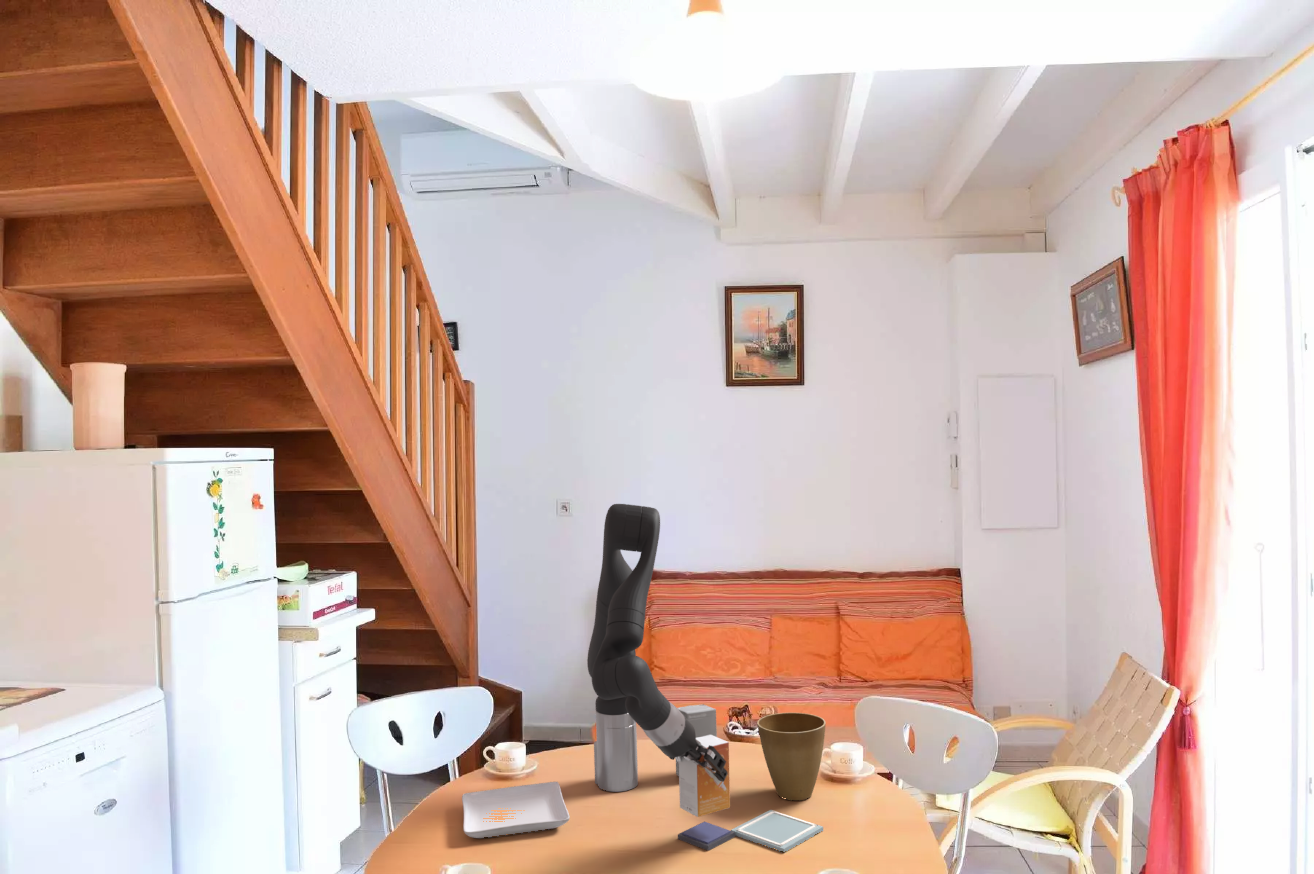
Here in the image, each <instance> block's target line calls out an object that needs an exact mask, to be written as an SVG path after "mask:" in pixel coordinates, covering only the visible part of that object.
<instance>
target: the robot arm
mask: <svg viewBox="0 0 1314 874" xmlns="http://www.w3.org/2000/svg"><path fill="white" fill-rule="evenodd" d="M605 515H606V516H605V519H604V525H603V527H604V529H603V541H602V542H603V543H602V544H603V545H602V561H601V570H600V575H599V576H600V577H599V581H598V587H597V592H596V593H597V594H596V601H595V602H596V603H595V615H594V623H593V624H594V625H593V628H592V632H591V633H592V634H591V636H590V637H591V638H590V642H589V647H588V650H587V651H588V652H587V659H586V661H587V671H588V674H589V677H590V678H591V685H592V688H593V691H594V693H595V694H596V695H597V697H596V698H595V699H596V700H595V723H596V724H595V726H596V728H595V730H596V731H595V732H596V733H595V734H596V740H595V741H594V742H593V754H594V755H593V756H594V757H593V760H594V783H595V785H597V786H599V787H598V788H599V789H601V790H602V789H604V790H603V791H605V790H606V791H605V792H614V793H615V792H626V791H629V790H632V789H635V788H636V787H638V784H639V770H638V769H639V767H638V741H637V740H638V739H637V736H638V735H637V734H638V733H637V725H638V726H639V727H640V728H641V729H642V731H643V732H644V734H645V735H646V736H647V738H649V740H650V741H651V742H652V743H653V744H654V745H655V746H656V747H657V748H658V749H659V750H660V751H661V752H662V753H663V754H664V755H665V756H666V757H668V758H669V759H670V760H675V761H676V760H677V761H678V762H679V761H680V762H681V760H682V757H684V758H685V759H687V760H688V761H692V762H693V763H695V764H696V765H698V766H699V767H701V768H704V767H705V768H707V769H708V770H710V771H711V772H712V773H713V774H714V775H715V776H716V777H717V779H718V780H719V781H722V782H724V780H725V778H726V776H727V774H728V772H727V771H726V769H725V768H724V766H725V764H726V761H725V760H724V758H723V757H722V756H721V755H720V754H719V753H718V751H717V750H716V749H715V748H714V747H713V746H710V745H709V747H708V749H707V748H706V747H704V746H703V745H701V743H700V742H699V741H698V740H696V735H695V729H694V727H693V725H692V724H691V723H690V722H689V721H688V720H687V719H686V718H685V716H684V715H683V714H682V713H681V712H680V711H679V710H678V709H677V708H678V707H677V706H675V705H674V704H673V703H672V702H671V701H670V700H668V699H667V698H666V696H665V695H664V694H663V693H662V692H661V691H660V690H659V688H658V686H657V683H656V681H655V679H654V676H653V673H652V672H651V669H650V667H649V665H648V663H647V662H646V661H645V660H644V659H643V658H642V657H640V656H638V655H637V654H636V649H638V648H640V647H641V646H642V644H643V641H644V632H645V622H646V621H645V620H646V611H647V610H646V608H647V601H648V595H649V591H650V586H651V581H652V577H653V572H654V567H655V563H656V556H657V551H658V545H659V539H660V532H661V515H660V512H659V511H658V509H657V508H656V507H651V506H644V505H643V506H642V505H637V504H636V505H635V504H626V503H614V504H612V505H610V507H609V508H608V510H607V512H606V514H605ZM621 551H629V552H637V553H640V556H639V559H638V561H637V563H636V565H635V567H634V568H633V569H632V568H631V567H630V565H629V564H628V563H627V561H626V559H624V556H623V554H622V552H621ZM702 755H704V759H703V761H702V763H701V762H700V761H698V760H700V758H701V756H702ZM708 763H709V764H710V765H711V766H710V765H708Z"/></svg>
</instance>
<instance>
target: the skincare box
mask: <svg viewBox="0 0 1314 874" xmlns="http://www.w3.org/2000/svg"><path fill="white" fill-rule="evenodd" d="M676 708H677V709H678V710H679V711H680V712H681V713H682V714H683V715H684V716H685V718H686V719H687V720H688V721H689V722H690V723H691V724H692V725H693V727H694V729H695V735H696V738H697V737H703V736H707V735H713V736H715V737H718V735H717V731H718V729H717V709H716V708H715V707H714V708H713V707H711V706H708V705H706V704H704V703H703V704H702V703H701V704H693V705H686V706H679V707H676ZM675 775H676V776H678V777H679V762H678V761H677V760H676V759H675Z"/></svg>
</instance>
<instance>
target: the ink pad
mask: <svg viewBox="0 0 1314 874" xmlns="http://www.w3.org/2000/svg"><path fill="white" fill-rule="evenodd" d="M735 838H736V836H735V832H733V831H731V829H727V828H724V827H721V826H718V825H717V824H712V823H709V822H707V821H703V822H701V823H698V824H696V825H694V826H691V827H690V828H688V829H686V830H684V831H682V832H679V833H678V834H677V840H680V841H682V842H685V843H687V844H690V845H692V846H695V847H698V848H700V849H703V850H706V851H711V850H712V849H715V848H716V847H719V846H720V845H722V844H724V843H727V842H728V841H730V840H732V839H735Z"/></svg>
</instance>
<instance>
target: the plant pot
mask: <svg viewBox="0 0 1314 874" xmlns="http://www.w3.org/2000/svg"><path fill="white" fill-rule="evenodd" d="M756 724H757V730H758V735H759V740H760V744H761V750H762V752H763V756H764V759H765V760H764V761H765V763H766V767H767V770H768V772H769V776H770V778H771V781H772V784H773V787H774V788H775V790H776V793H777V795H779V796H780V798H781V797H783V798H786V799H788V800H787V801H792V800H799V801H805V800H807V798H808V799H810V798H811V797H812V795H813V792H814V788H815V786H816V783H817V780H818V779H817V778H818V776H819V771H820V765H821V762H822V756H823V751H824V745H825V736H826V724H827V723H826V720H825V719H824V718H823V717H821V716H819V715H815V714H811V713H805V712H804V713H803V712H778V713H773V714H767V715H765V716H763V717H761V718H759V719H758V720H757V722H756ZM779 796H778V797H779ZM783 798H782V799H783ZM786 799H785V800H786Z"/></svg>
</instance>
